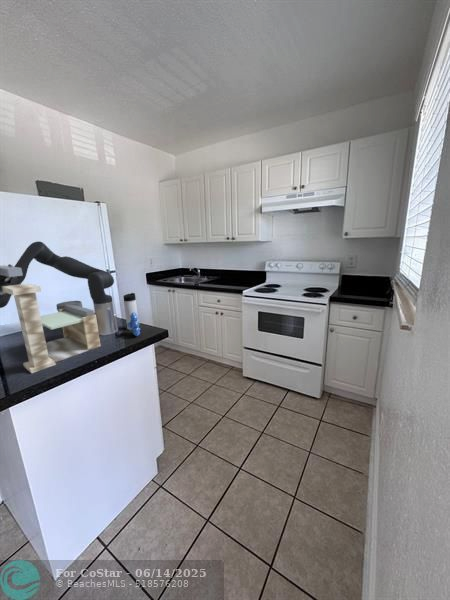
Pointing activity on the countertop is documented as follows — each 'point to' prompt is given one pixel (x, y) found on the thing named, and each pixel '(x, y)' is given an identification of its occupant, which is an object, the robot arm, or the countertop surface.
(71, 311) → the trapdoor
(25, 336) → the tall stand
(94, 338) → the trapdoor frame
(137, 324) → the grapes
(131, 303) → the travel mug
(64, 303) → the grey rounded piece
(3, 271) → the slate block
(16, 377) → the countertop surface
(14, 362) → the countertop surface
